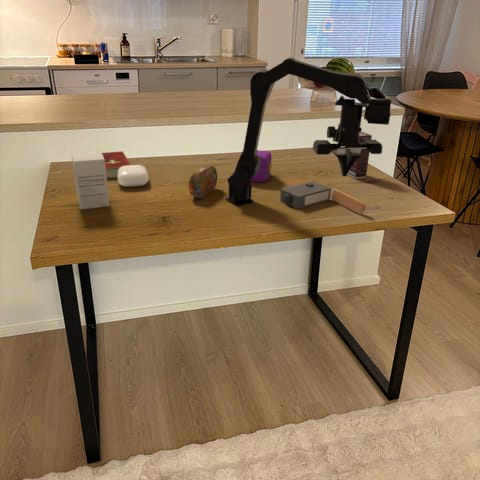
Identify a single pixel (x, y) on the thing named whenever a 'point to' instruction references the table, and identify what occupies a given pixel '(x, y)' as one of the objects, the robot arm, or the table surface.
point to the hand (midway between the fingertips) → (344, 175)
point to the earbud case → (132, 175)
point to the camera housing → (305, 194)
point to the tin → (203, 181)
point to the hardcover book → (114, 162)
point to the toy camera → (263, 167)
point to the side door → (348, 201)
